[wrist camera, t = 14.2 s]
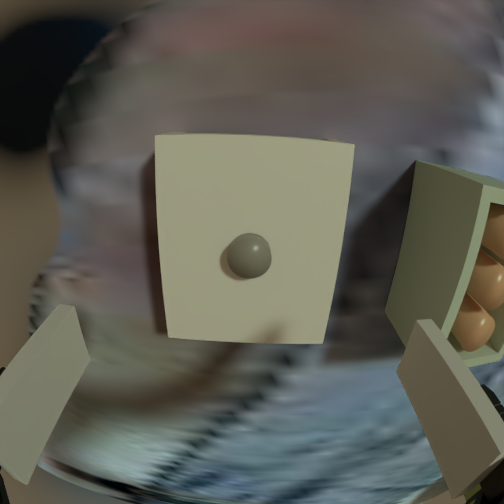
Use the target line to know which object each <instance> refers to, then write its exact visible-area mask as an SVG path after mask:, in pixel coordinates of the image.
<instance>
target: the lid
mask: <svg viewBox="0 0 504 504" xmlns="http://www.w3.org/2000/svg"><path fill="white" fill-rule="evenodd" d="M354 147H355V145H354V144H351V143H347V142H343V141H339V140H331V139H325V140H319V139H309V138H297V137H284V136H269V135H250V134H209V133H192V134H185V132H175V133H165V134H159V135H155V180H156V207H157V226H158V242H159V255H160V267H161V278H162V288H163V298H164V307H165V315H166V323H167V331H168V337H170V338H182V339H194V340H208V341H225V342H245V343H278V344H323V340H324V336H325V331H326V327H327V322H328V317H329V313H330V308H331V303H332V298H333V293H334V287H335V282H336V277H337V271H338V265H339V260H340V254H341V248H342V241H343V235H344V229H345V222H346V215H347V208H348V200H349V192H350V184H351V176H352V167H353V157H354Z"/></svg>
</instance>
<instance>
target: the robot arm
mask: <svg viewBox="0 0 504 504" xmlns="http://www.w3.org/2000/svg"><path fill="white" fill-rule="evenodd" d="M89 362H90V357H89V354H88V351H87V348H86V345H85V342H84V338H83V335H82V332H81V328H80V324H79V321H78V317H77V313H76V310H75V306H69V305H61V304H59V305H58V306H57V307H56V309H55V310H54V311H53V312H52V313H51V314H50V315H49V316H48V318H47V319H46V320H45V321H44V322H43V323H42V325H41V326H40V327H39V328H38V329H37V330H36V332H35V333H34V334H33V335H32V336H31V338H30V339H29V340H28V341H27V343H26V344H25V345H24V346H23V347H22V349H21V350H20V351H19V352H18V354H17V355H16V356H15V357H14V359H13V360H12V361H11V363H10V364H9V365H8V366H7V368H4V367H2V368H1V369H0V470H1V468H3V470H4V471H5V472H6V473H7V474H8V475H9V476H10V477H12V478H14V479H16V480H18V481H20V482H22V483H24V484H26V485H28V482H29V480H30V478H31V475H32V473H33V471H34V469H35V466H36V464H37V462H38V460H39V458H40V456H41V453H42V451H43V449H44V447H45V445H46V443H47V441H48V439H49V437H50V435H51V433H52V431H53V429H54V427H55V425H56V423H57V421H58V419H59V417H60V415H61V413H62V411H63V409H64V407H65V405H66V403H67V402H68V400H69V398H70V396H71V394H72V392H73V390H74V389H75V387H76V385H77V383H78V381H79V380H80V378H81V376H82V374H83V372H84V371H85V369H86V367H87V365H88V364H89ZM396 373H397V375H398V377H399V379H400V381H401V383H402V385H403V387H404V389H405V391H406V393H407V395H408V397H409V399H410V401H411V403H412V406H413V408H414V410H415V412H416V414H417V416H418V419H419V421H420V423H421V425H422V427H423V430H424V432H425V434H426V436H427V439H428V441H429V443H430V446H431V448H432V450H433V453H434V455H435V457H436V460H437V462H438V465H439V467H440V469H441V472H442V474H443V477H444V479H445V482H446V484H447V487H448V490H449V492H450V495H451V498H452V499H454V498H457V497H459V496H462V495H464V494H466V493H469V492H470V491H471V490H472V489H474V488H475V487H476V486H477V485H478V484H479V483H480V486H481V489H480V490H479V491H478V492H476V493H475V494H474V495H473V496H472V497H471V498H469V499H468V500H467V502H466V504H470V503H471V502H472V501H474V500H475V502H474V503H473V504H504V407H503V405H501V404H500V403H501V402H500V401H499V399H498V398H497V396H496V395H495V393H494V392H493V391H491V390H490V389H489V388H488V387H487V386H485V385H484V384H483V385H480V384H479V383H478V382H477V380H476V379H475V377H474V376H473V374H472V373H471V371H470V370H469V369H468V367H467V366H466V364H465V363H464V362H463V360H462V359H461V357H460V356H459V355H458V353H457V352H456V351H455V349H454V348H453V346H452V345H451V344H450V342H449V341H448V340H447V338H446V337H445V336H444V335H443V333H442V332H441V331H440V329H439V328H438V327H437V325H436V324H435V323H434V322H433V320H432V319H424V320H416V322H415V325H414V328H413V331H412V333H411V336H410V339H409V341H408V344H407V347H406V349H405V352H404V354H403V357H402V359H401V362H400V364H399V367H398V369H397V371H396ZM0 504H10V503H9V499H8V496H7V492H6V489H5V485H4V481H3V478H2V476H1V474H0Z"/></svg>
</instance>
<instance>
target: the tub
mask: <svg viewBox="0 0 504 504" xmlns="http://www.w3.org/2000/svg"><path fill="white" fill-rule="evenodd" d="M384 312H385V313H386V315H387V317H388V318H389V320H390V322H391V323H392V325H393V327H394V329H395V330H396V332H397V334H398V336H399V337H400V339H401V341H402V343H403V344H404V346H405V348H406V347H407V344H408V341H409V339H410V336H411V333H412V331H413V328H414V325H415V322H416V320H424V319H432V320H433V322H434V323H435V324H436V325H437V327H438V328H439V329H440V331H441V332H442V333H443V335H444V336H445V337H446V338H447V340H448V341H449V342H450V344H451V345H452V346H453V348H454V349H455V351H456V352H457V353H458V355H459V356H460V357H461V359H462V360H463V362H464V363H465V364H466V366H467V367H472V366H477V365H481V364H486V363H490V362H495V361H499V360H501V358H502V356H503V354H504V182H503V181H501V180H498V179H495V178H492V177H489V176H485V175H481V174H477V173H473V172H469V171H465V170H461V169H456V168H452V167H447V166H443V165H438V164H433V163H428V162H423V161H418V160H416V164H415V172H414V179H413V185H412V192H411V198H410V204H409V209H408V215H407V220H406V225H405V230H404V235H403V240H402V244H401V249H400V253H399V257H398V262H397V266H396V270H395V274H394V278H393V281H392V285H391V289H390V293H389V296H388V300H387V303H386V307H385V310H384Z"/></svg>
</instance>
